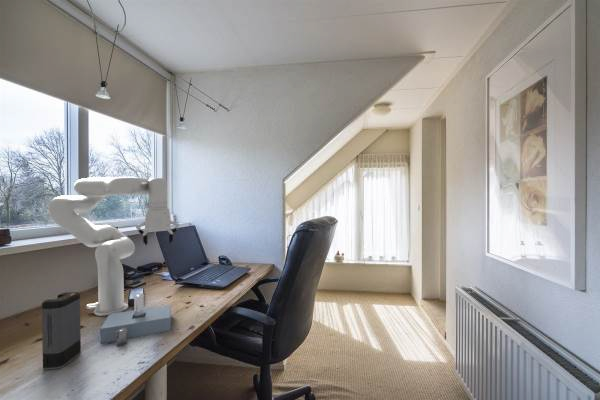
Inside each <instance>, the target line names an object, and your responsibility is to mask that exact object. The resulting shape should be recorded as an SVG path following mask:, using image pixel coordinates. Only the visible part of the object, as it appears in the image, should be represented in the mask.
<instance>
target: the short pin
mask: <svg viewBox="0 0 600 400" xmlns="http://www.w3.org/2000/svg"><path fill="white" fill-rule="evenodd" d="M115 341H116V342H115V347H118V348H119V347H124V346H127V345H128V338H127V328H120V329H118V330H116V340H115Z"/></svg>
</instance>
